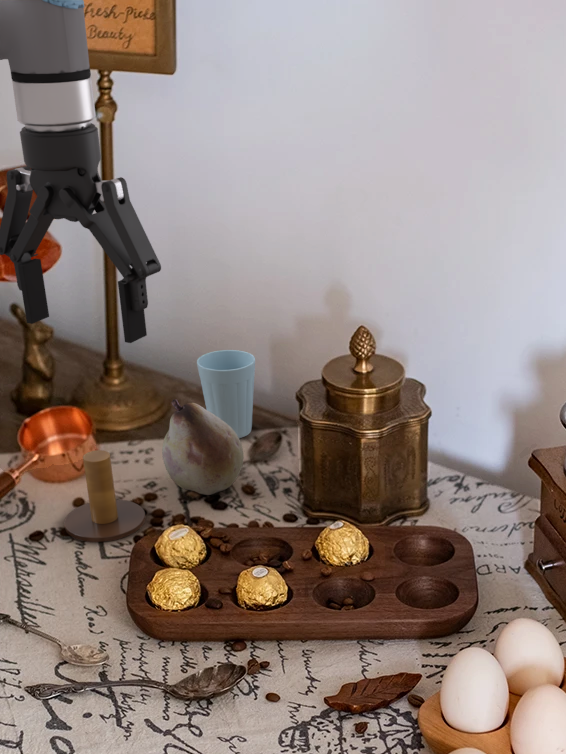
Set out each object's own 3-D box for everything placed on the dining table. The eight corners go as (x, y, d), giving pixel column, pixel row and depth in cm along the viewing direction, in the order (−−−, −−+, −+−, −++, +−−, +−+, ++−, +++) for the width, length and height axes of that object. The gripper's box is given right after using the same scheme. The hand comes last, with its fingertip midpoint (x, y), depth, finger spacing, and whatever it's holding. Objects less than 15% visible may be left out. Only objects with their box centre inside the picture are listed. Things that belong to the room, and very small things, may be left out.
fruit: (151, 483, 137) (141, 394, 132) (213, 461, 143) (206, 374, 137) (198, 512, 131) (190, 419, 125) (261, 487, 136) (256, 397, 131)
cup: (219, 416, 155) (213, 346, 150) (268, 424, 153) (264, 353, 148) (193, 438, 149) (186, 365, 144) (244, 446, 147) (239, 373, 142)
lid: (50, 536, 126) (39, 469, 122) (88, 499, 134) (79, 435, 130) (124, 546, 124) (115, 478, 120) (158, 508, 132) (151, 443, 128)
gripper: (183, 127, 107) (200, 336, 117) (-8, 110, 117) (23, 303, 127) (134, 140, 101) (157, 358, 111) (-63, 120, 112) (-25, 322, 122)
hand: (85, 329), depth 119 cm, fingers open, 13 cm apart
